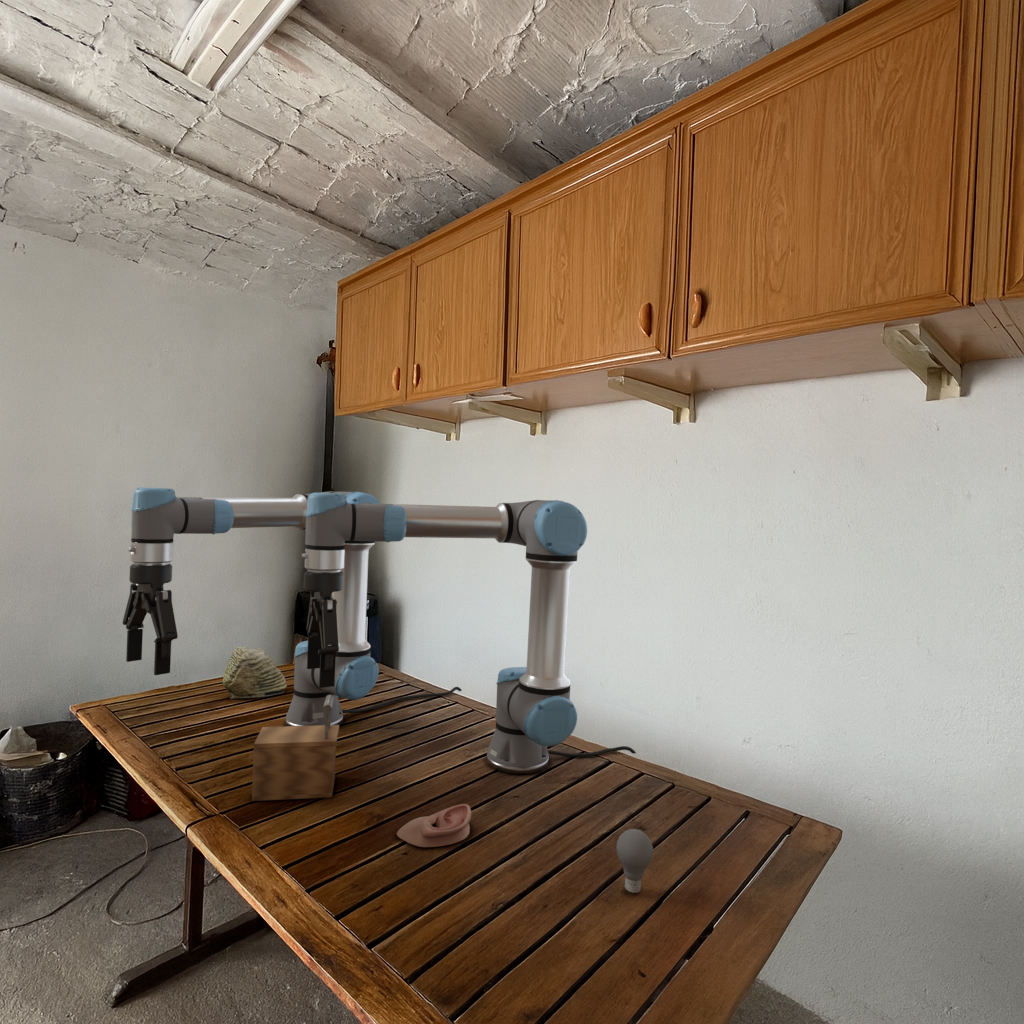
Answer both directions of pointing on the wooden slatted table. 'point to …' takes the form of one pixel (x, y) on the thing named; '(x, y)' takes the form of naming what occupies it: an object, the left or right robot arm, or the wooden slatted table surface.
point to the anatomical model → (438, 827)
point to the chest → (293, 772)
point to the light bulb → (634, 857)
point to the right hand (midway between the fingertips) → (320, 677)
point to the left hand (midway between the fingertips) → (147, 667)
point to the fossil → (252, 674)
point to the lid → (301, 733)
